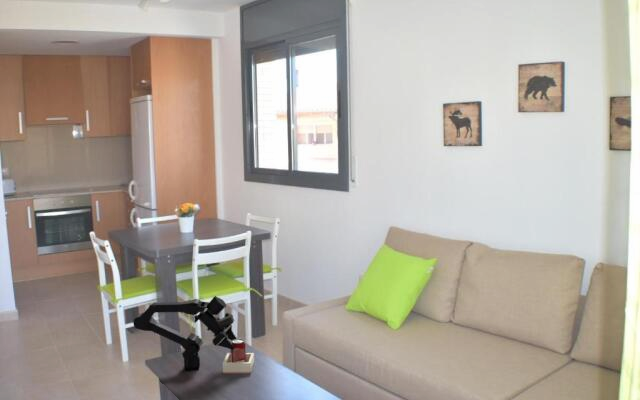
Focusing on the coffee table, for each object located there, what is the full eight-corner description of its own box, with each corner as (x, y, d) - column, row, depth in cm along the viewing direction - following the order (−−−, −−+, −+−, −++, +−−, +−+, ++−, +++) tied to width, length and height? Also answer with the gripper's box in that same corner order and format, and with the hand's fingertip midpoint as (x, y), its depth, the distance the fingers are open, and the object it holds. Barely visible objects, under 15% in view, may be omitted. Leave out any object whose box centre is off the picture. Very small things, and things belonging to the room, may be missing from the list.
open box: (222, 373, 259) (222, 363, 258) (227, 362, 271) (227, 353, 271) (250, 373, 259) (250, 363, 258) (254, 362, 271) (254, 352, 270)
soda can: (246, 368, 262) (246, 342, 261) (231, 370, 261) (231, 344, 259) (244, 362, 269) (244, 337, 268) (230, 364, 267) (229, 339, 266)
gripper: (219, 315, 253) (245, 340, 254) (226, 303, 271) (250, 326, 272) (201, 333, 254) (227, 357, 255) (210, 319, 272) (234, 342, 273)
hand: (235, 345), depth 264 cm, fingers open, 9 cm apart
